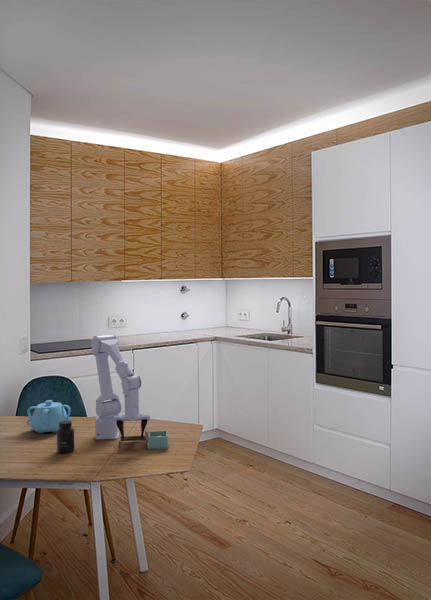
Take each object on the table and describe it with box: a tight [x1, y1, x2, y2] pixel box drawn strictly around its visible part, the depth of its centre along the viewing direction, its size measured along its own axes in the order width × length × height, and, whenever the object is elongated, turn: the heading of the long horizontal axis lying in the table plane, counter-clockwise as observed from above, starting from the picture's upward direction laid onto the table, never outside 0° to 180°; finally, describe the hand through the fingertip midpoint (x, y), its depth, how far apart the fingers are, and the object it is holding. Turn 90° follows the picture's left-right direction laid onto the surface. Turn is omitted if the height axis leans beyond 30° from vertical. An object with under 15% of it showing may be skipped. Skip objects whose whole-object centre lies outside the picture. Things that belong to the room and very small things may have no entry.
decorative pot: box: [26, 399, 73, 434], centre depth 236 cm, size 16×16×14 cm
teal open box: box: [147, 430, 169, 451], centre depth 211 cm, size 8×8×5 cm
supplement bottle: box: [56, 419, 75, 455], centre depth 206 cm, size 7×7×12 cm
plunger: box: [144, 428, 150, 443], centre depth 211 cm, size 1×5×4 cm, turn 4°
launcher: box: [117, 434, 148, 452], centre depth 211 cm, size 11×8×4 cm
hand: (132, 438), depth 211 cm, fingers open, 7 cm apart
